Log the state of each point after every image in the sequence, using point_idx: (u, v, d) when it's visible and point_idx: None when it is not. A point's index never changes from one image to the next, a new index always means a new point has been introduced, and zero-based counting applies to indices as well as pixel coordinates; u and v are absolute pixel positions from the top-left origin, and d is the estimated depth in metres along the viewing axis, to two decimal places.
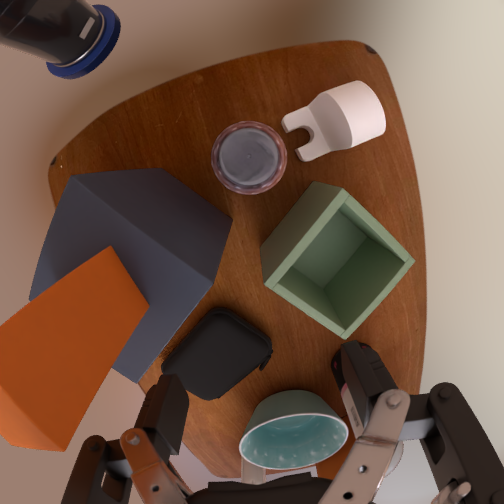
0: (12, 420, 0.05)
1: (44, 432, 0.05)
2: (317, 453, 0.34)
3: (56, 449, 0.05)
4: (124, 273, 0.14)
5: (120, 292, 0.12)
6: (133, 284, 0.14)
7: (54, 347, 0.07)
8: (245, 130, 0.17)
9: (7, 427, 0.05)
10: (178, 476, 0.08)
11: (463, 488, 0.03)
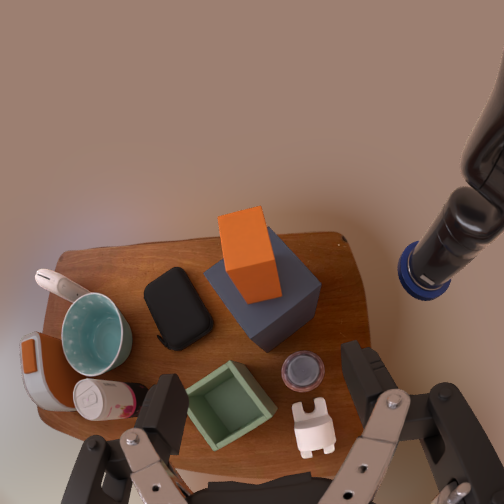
0: (241, 249, 0.23)
1: (237, 268, 0.22)
2: (69, 345, 0.43)
3: (226, 266, 0.22)
4: (267, 298, 0.30)
5: (261, 296, 0.29)
6: (260, 300, 0.31)
7: (258, 277, 0.24)
8: (317, 372, 0.31)
9: (234, 235, 0.23)
10: (178, 476, 0.08)
11: (463, 488, 0.03)
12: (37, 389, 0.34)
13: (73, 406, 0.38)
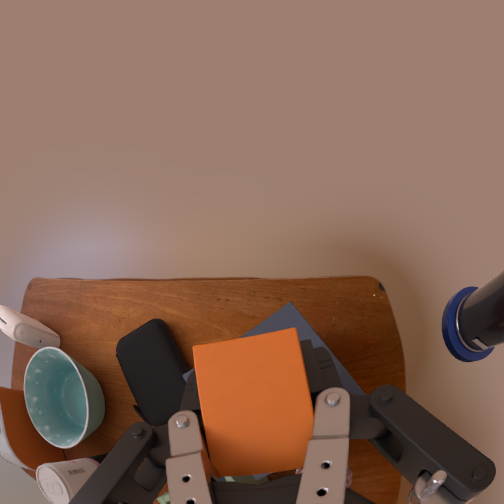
0: (247, 437, 0.08)
1: (237, 475, 0.07)
2: (33, 403, 0.28)
3: None
4: None
5: None
6: None
7: None
8: None
9: (230, 402, 0.09)
10: None
11: (439, 477, 0.04)
12: (3, 449, 0.19)
13: None
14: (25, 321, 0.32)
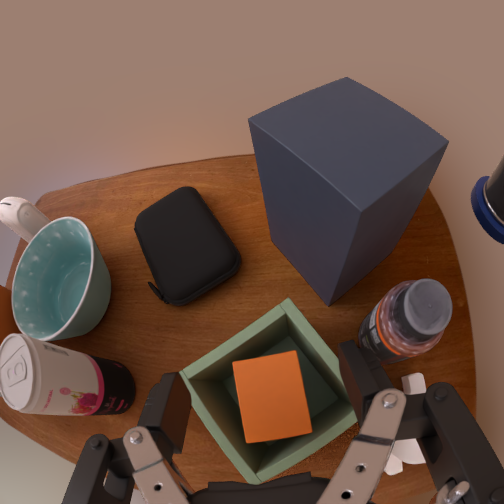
0: (267, 416, 0.14)
1: (261, 441, 0.14)
2: (21, 297, 0.26)
3: (247, 438, 0.14)
4: None
5: None
6: None
7: None
8: (451, 306, 0.15)
9: (257, 395, 0.15)
10: (181, 475, 0.08)
11: (462, 487, 0.03)
12: None
13: None
14: None
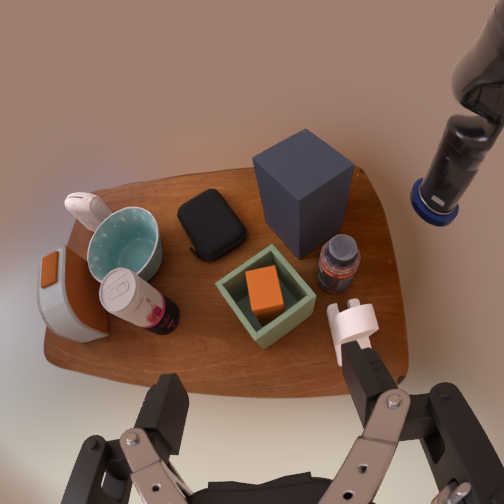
0: (261, 296, 0.34)
1: (259, 309, 0.34)
2: (94, 261, 0.46)
3: (252, 307, 0.34)
4: None
5: None
6: None
7: (272, 312, 0.36)
8: (356, 248, 0.35)
9: (257, 286, 0.35)
10: (178, 476, 0.08)
11: (463, 488, 0.03)
12: (53, 302, 0.38)
13: (90, 325, 0.41)
14: (99, 198, 0.51)
